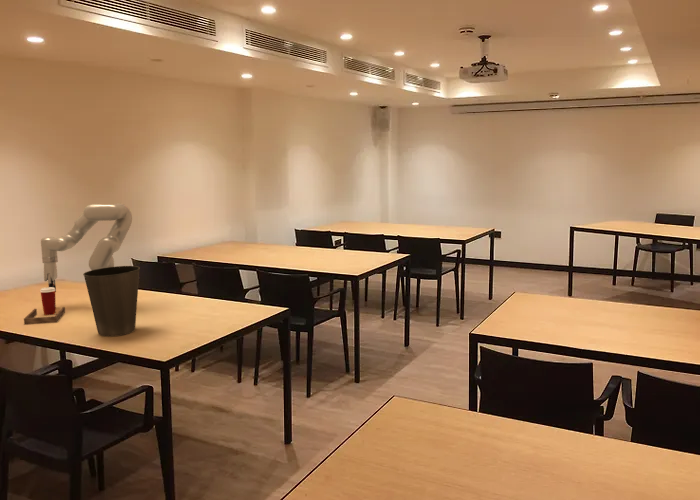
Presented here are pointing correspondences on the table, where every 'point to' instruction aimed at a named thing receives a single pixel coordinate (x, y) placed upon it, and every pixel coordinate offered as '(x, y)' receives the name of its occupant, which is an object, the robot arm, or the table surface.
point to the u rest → (31, 320)
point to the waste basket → (113, 298)
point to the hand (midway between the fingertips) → (52, 292)
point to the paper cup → (48, 300)
